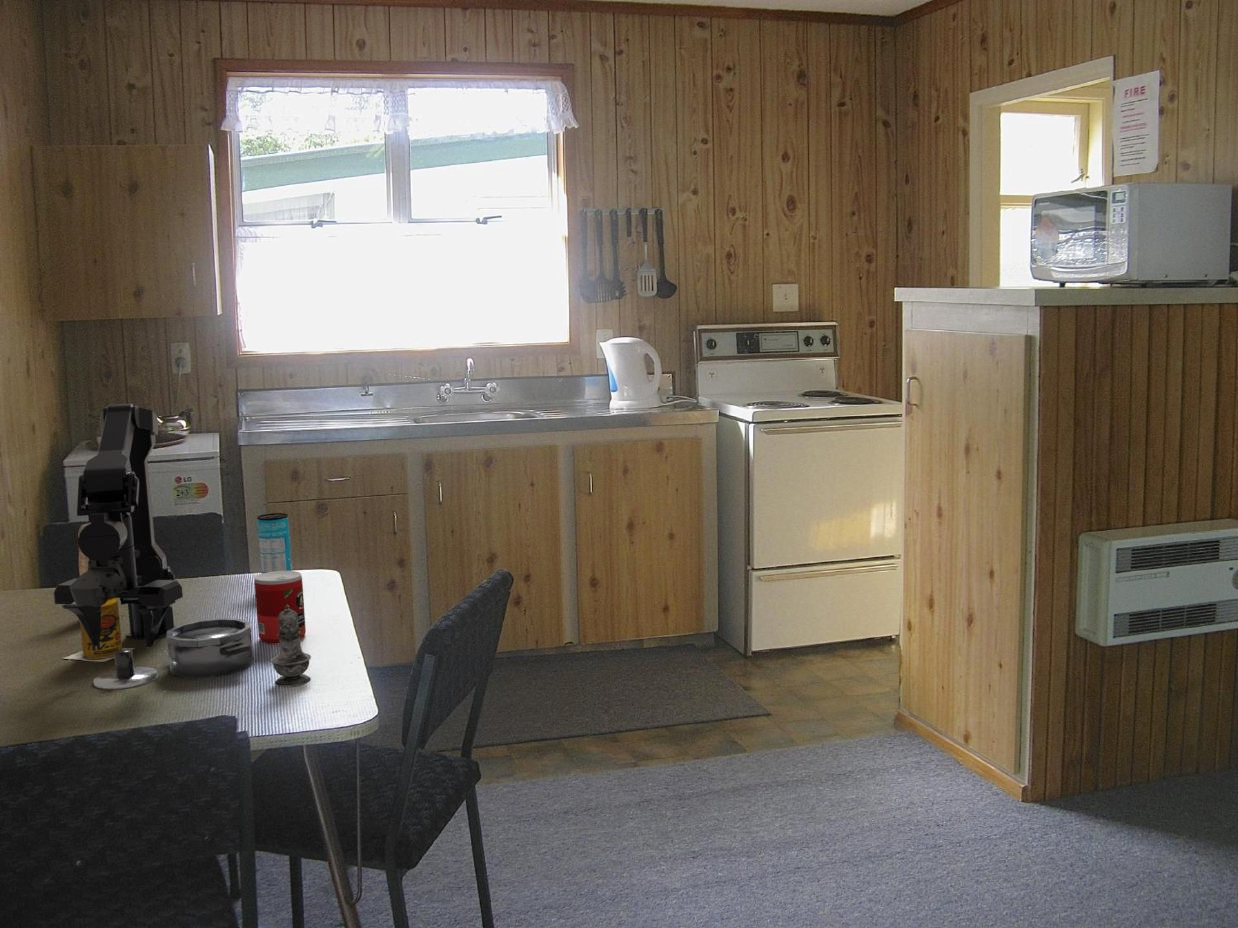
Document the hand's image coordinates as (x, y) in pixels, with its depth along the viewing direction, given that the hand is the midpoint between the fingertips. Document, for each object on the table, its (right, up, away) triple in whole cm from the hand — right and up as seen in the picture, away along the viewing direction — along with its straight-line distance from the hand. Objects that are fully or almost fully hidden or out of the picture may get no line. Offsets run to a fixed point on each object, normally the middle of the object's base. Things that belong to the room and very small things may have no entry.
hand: (123, 646), depth 189 cm
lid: (0, -6, +1) cm, 6 cm away
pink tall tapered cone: (-20, -1, +40) cm, 44 cm away
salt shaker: (+27, -5, -3) cm, 28 cm away
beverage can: (+8, +3, +57) cm, 57 cm away
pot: (+12, -4, +6) cm, 14 cm away
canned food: (+19, -2, +21) cm, 28 cm away
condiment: (-10, -4, +15) cm, 18 cm away
